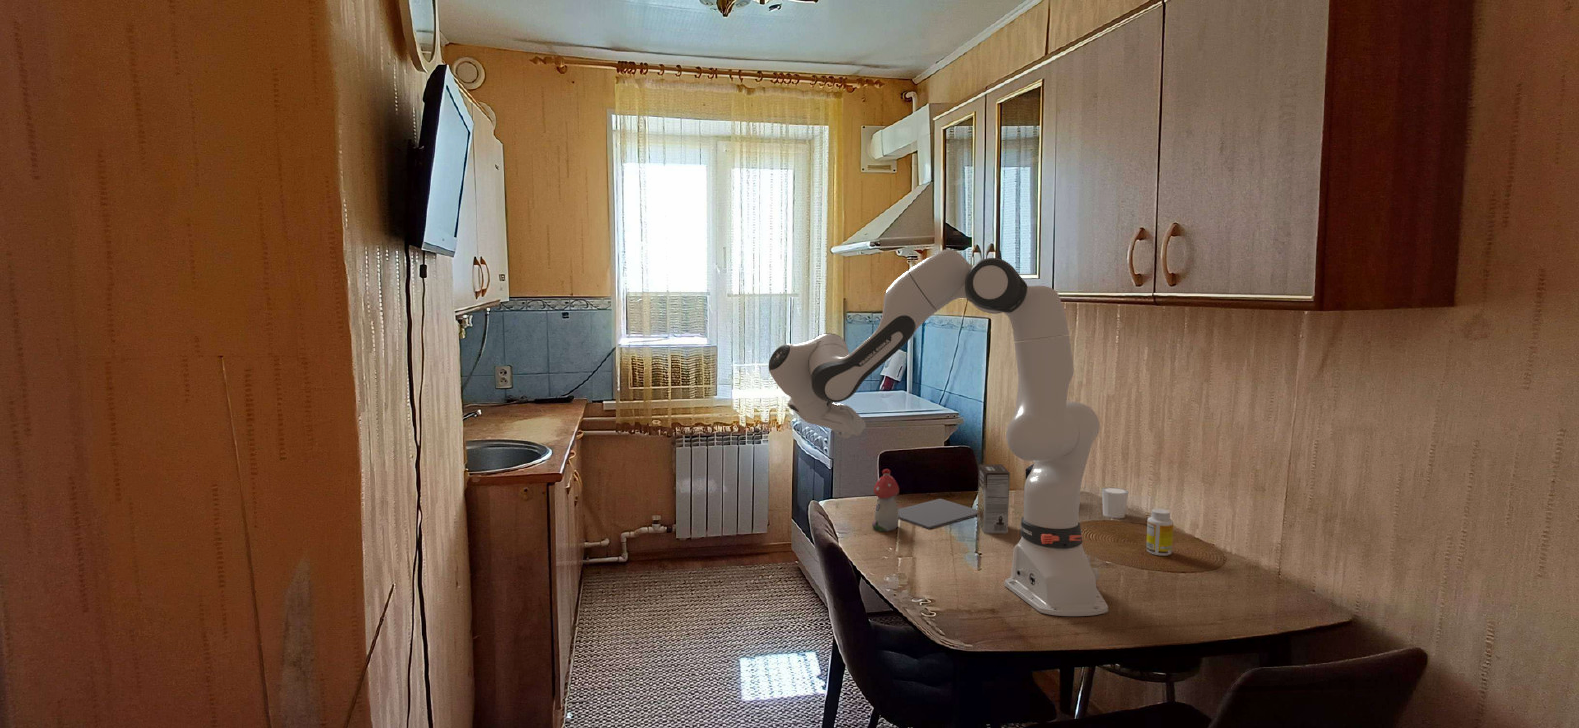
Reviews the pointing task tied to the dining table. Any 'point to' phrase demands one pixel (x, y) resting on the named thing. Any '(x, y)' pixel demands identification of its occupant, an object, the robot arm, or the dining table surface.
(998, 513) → the coffee box
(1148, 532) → the supplement bottle
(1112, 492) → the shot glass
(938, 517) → the mat
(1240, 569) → the dining table surface
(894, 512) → the decorative ornament
